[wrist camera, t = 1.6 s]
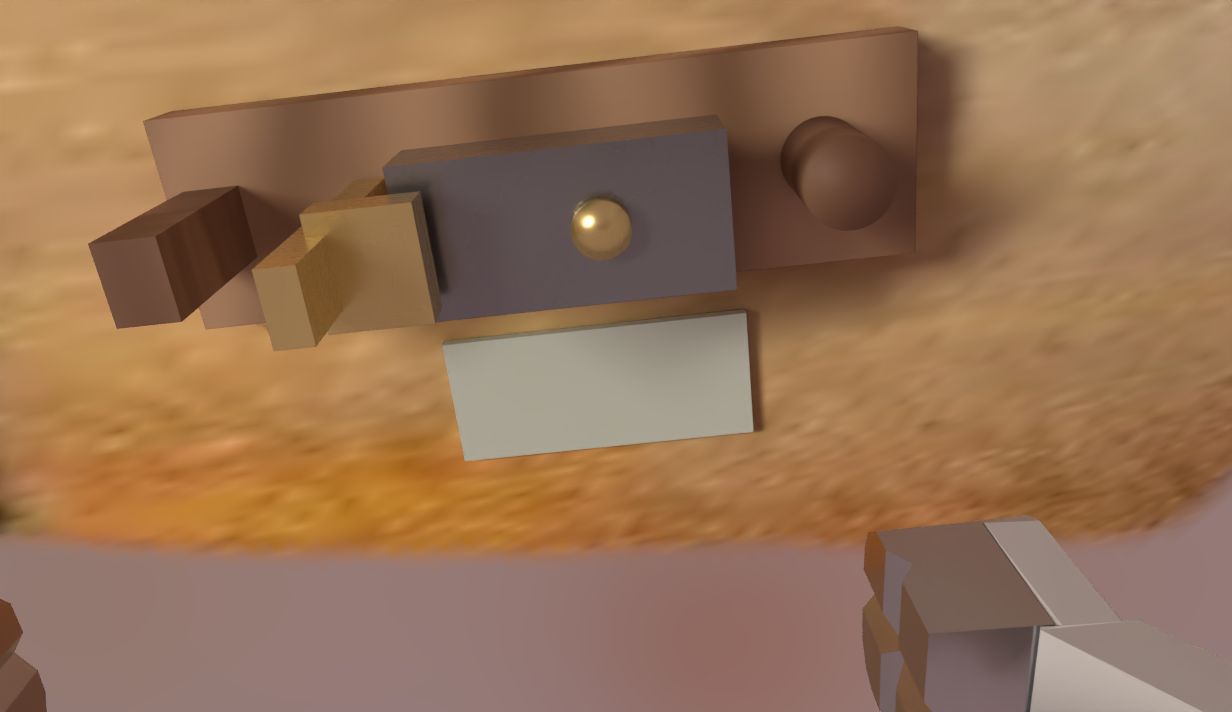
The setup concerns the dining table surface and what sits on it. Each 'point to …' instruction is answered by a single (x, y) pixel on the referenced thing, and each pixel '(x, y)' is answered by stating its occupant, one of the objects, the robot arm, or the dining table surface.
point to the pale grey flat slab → (601, 385)
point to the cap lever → (350, 268)
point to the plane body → (523, 106)
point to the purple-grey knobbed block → (575, 216)
